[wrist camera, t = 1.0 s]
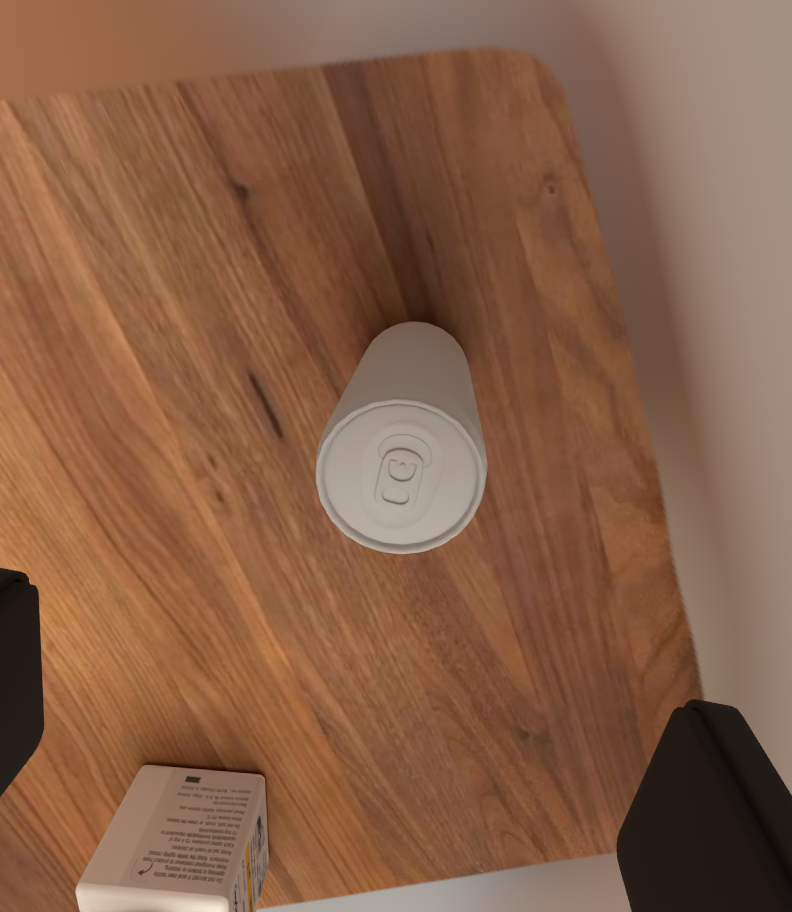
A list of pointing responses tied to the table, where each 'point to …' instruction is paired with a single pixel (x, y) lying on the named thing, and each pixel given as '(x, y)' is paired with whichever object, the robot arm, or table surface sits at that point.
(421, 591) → the table surface
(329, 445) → the beverage can
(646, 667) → the table surface
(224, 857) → the container
